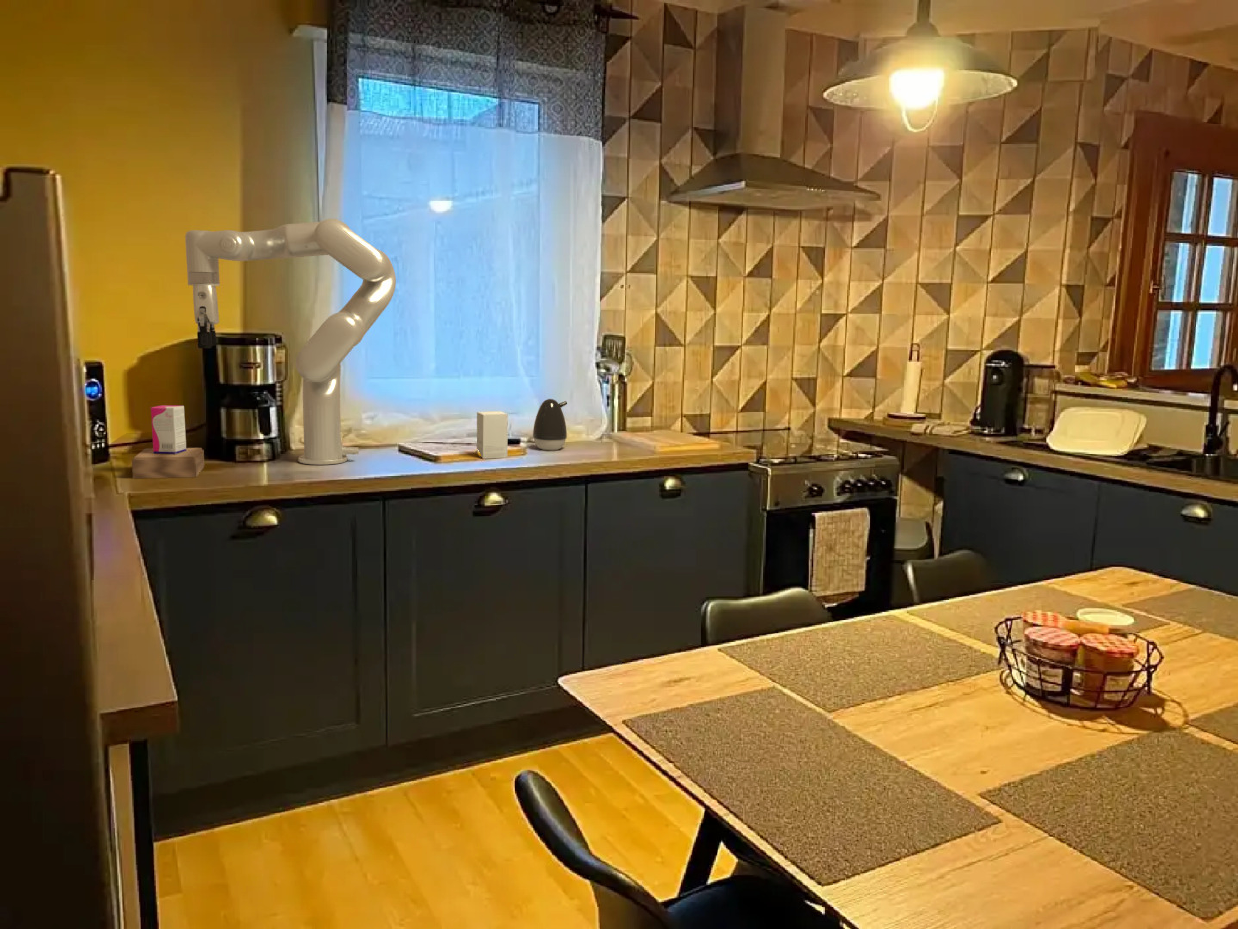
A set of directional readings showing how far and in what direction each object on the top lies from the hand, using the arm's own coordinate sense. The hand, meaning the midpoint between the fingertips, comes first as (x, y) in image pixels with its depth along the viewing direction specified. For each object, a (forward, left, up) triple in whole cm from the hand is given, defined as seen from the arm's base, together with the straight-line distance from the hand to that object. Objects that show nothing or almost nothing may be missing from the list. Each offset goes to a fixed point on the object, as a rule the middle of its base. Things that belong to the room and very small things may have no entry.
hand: (207, 346), depth 251 cm
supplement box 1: (+8, +15, -25) cm, 30 cm away
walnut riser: (+8, +15, -30) cm, 35 cm away
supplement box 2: (-74, 0, -30) cm, 80 cm away
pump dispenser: (-93, -11, -30) cm, 98 cm away
